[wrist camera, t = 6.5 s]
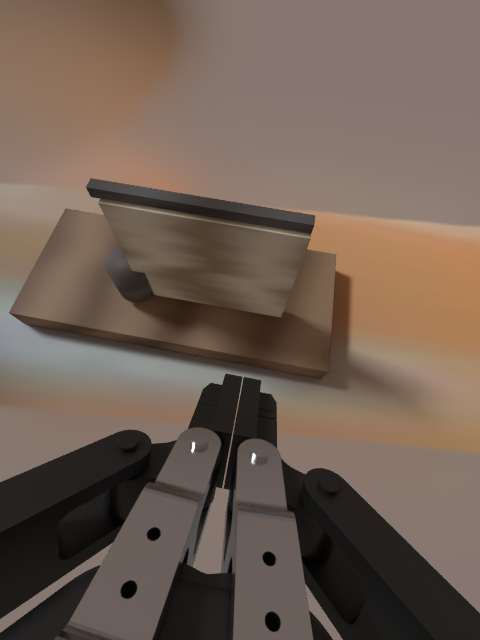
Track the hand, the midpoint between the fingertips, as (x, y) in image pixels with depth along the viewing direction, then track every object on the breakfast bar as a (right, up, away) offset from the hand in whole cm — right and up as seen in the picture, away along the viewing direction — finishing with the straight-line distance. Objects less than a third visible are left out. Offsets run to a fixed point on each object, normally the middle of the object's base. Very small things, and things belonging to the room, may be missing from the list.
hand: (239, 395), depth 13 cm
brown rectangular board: (-5, +5, +14) cm, 15 cm away
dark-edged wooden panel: (-3, +5, +10) cm, 12 cm away
